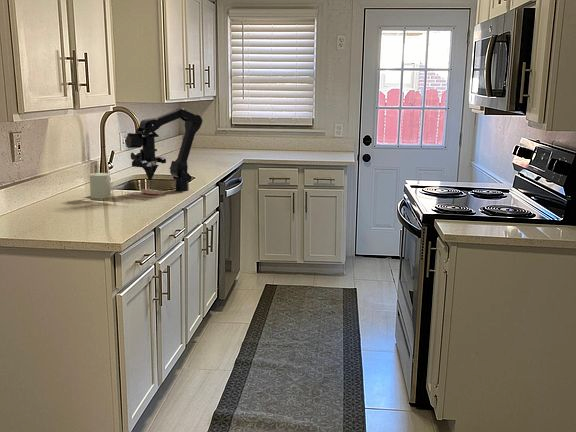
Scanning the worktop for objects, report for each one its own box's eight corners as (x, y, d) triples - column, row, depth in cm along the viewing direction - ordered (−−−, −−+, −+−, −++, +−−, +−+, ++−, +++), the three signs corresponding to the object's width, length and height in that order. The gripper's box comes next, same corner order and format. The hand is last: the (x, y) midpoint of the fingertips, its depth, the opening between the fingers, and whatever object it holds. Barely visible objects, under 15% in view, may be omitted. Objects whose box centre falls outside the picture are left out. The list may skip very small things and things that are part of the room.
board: (136, 194, 280) (136, 192, 280) (166, 197, 273) (166, 195, 272) (114, 199, 267) (114, 196, 267) (146, 203, 259) (146, 200, 259)
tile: (140, 192, 275) (152, 193, 284) (154, 194, 272) (166, 194, 280) (141, 189, 275) (153, 189, 284) (154, 190, 272) (166, 191, 280)
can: (86, 199, 266) (84, 173, 264) (103, 196, 273) (102, 171, 271) (98, 201, 261) (96, 175, 258) (115, 199, 268) (114, 173, 265)
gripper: (147, 144, 282) (148, 176, 286) (121, 147, 266) (123, 181, 269) (166, 145, 278) (167, 177, 281) (141, 149, 261) (142, 183, 265)
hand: (150, 180), depth 274 cm, fingers closed
